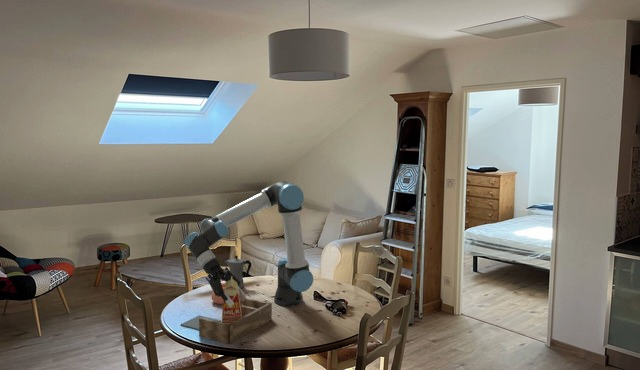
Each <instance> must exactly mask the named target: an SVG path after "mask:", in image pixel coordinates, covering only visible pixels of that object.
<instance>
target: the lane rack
mask: <svg viewBox="0 0 640 370" xmlns="http://www.w3.org/2000/svg"><path fill="white" fill-rule="evenodd" d="M241 305H242V311H243V315H244V317H242V318H240V319H238V320H236V321H234V322H233V323H231V324H227V323H223V322H222V321H221V322H219V321H214V320H210V319H206V318H202V317H201V318H199V330H198V336H199V337H201V338H205V339H209V340H211V341H212V340H213V341H217V342H221V343H224V344H229V345H231V344H233V343H235V342H236V341H238V340H240V339H241V338H243V337H245V336H246V335H248V334H249V333H251V332H253V331H254V330H256V329H258V328H260V327H261V326H263V325H264V324H266V323H268V322H269V321H271V320H272V317H273V316H272V315H273V314H272V313H273V312H272V311H273V308H272V307H273V304H272V302H268V301H263V300H259V299H254V298H249V297H247V298H246V299H245V300H244V301H242V300H241Z"/></svg>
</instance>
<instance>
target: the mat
mask: <svg viewBox="0 0 640 370" xmlns="http://www.w3.org/2000/svg"><path fill="white" fill-rule="evenodd" d="M201 317H202V318H206V319H210V320H214V321H219V322H222V319H221V320H220V319H217V318H212V317H209V316H203V315H200V314H199V315H197V316H195V317H193V318H191V319H189V320H187V321H185V322H183V323H180V326H181V327H186V328H189V329H192V330H197V331H199V318H201Z"/></svg>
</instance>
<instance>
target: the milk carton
mask: <svg viewBox="0 0 640 370" xmlns="http://www.w3.org/2000/svg"><path fill="white" fill-rule="evenodd" d="M224 283H225V290H224V292H226V293H227V294H228V296H229V297H230V298H231V300H232V301H233V303H234V305H233V306H232V307H229V306H228V305H227V303H226V302H225V301H224V300H223V304H222V309H221V310H222V311H221V322H223V323H227V324H231V323H233V322H234V321H236V320H238V319H240V318H242V317H244V315H243V311H242V305H241V296H240V292H239V288H238V284H237V282H236V281H235V280H233V279H232V276H231V280H229V281H227V282H225V281H224Z"/></svg>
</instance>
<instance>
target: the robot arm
mask: <svg viewBox="0 0 640 370" xmlns="http://www.w3.org/2000/svg"><path fill="white" fill-rule="evenodd" d="M304 201H305V195H304V192H303V189H301V188H300V187H299V186H298V185H297V184H294V183H291V182H287V181H283V180H282V181H277V182H275V183H273V184H271V185H269V186H267V187H265V188H263V189H261V191H260V193H258V194H256V195H254V196H252V197H250V198H248V199H246V200H243V201H242V202H240V203H239V204H236V205H235V206H233V207H230V208H228V209H226V210H224V211H223V212H221V213H219V214H216V215H215V216H212V217H211V218H204V219H203V220H202V221H200V224H199V225H200V226H199V227H200V231H201V232H200V233H199V232H197V231H193V232H192V233H190V234H188V235H187V236H186V237H185V239H184V241H183V242H184V245H186V248H187V249H188V251H189V252H190V253H191V254H192V256H194V259H195V260H196V261H197V262H198V264H199V266H200V267H202V269H203V271H204V273H206V274H207V275H206V277H205V279H206V281H207V282H208V284H209V285H210V288H211V290H212V293H213V292H214V294H215V295H216V296H218V297H220V296H221V297H222V299H223V300H224V301H225V302H226V303H227V305H228V306H229V307H232V306H233V305H234V303H233V301H232V300H231V298H230V297H229V296H228V294H227V293H226V292H224V291H223V287H222V284H221V283H222V281H224V283H225V282H227V281H229V280H231V276H232V279H233V280H235V281H236V282H237V284H238V288H239V292H240V296H241V300H242V301H244V300H245V299H246V298H248V297H247V296H246V294H245V292H243V289H242V288H240V287H239V285H240V281H239V280H238V279H237V278H236V277H235V276H234V275H233V274H232V273H231V272H230V269H229V267H228V266H227V267H225V268H222V266H221V262H220V261H219V259H218V258H216V255H215V254H214V253H213V251H212V250H211V249H210V247H212V246H213V245H214V244H216V243H217V242H218V241H220V240H221V239H223V238H225V236H226V235H228V234H229V232H230V231H229V229H228V228H229V227H230V226H232V225H234V224H236V223H238V222H240V221H242V220H243V219H246V218H248V217H249V216H251V215H253V214H255V213H257V212H259V211H261V210H263V209H265V208H271V207H273V206H276V205H277V210H278V213H279V214H280V215H281V217H282V227H283V233H284V235H283V236H284V241H285V249H286V250H285V251H286V257H284V258H280V259H278V261H277V287H276V290H275V294H274V299H273V302H274V303H275V304H276V305H279V306H282V307H283V306H284V307H293V306H292V305H295V306H299V305H301V304H302V303H303V302H304V297H303V292H304V293H305V292H306V291H308V290H309V289H310V288H311V287H312V286H313V283H314V275H313V273H312V272H311V270H310V265H309V261H308V260H307V259H306V258H305V257H306V256H305V248H304V240H303V231H302V223H301V214H300V213H301V211H303V205H302V204H304ZM221 280H222V281H221ZM300 303H301V304H300ZM298 304H299V305H298Z"/></svg>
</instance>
